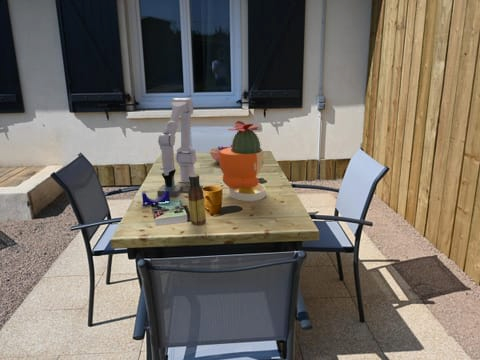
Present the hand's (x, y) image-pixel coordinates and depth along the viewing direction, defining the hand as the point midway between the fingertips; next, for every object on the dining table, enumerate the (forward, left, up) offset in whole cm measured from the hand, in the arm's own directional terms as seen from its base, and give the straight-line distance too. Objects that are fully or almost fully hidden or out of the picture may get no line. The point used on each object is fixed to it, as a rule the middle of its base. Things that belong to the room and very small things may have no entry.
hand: (170, 185), depth 202 cm
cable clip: (+15, -3, -4) cm, 16 cm away
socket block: (0, 0, -4) cm, 4 cm away
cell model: (-61, +20, -4) cm, 64 cm away
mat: (-5, +10, -4) cm, 12 cm away
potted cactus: (+2, +36, -4) cm, 36 cm away
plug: (0, 0, -3) cm, 3 cm away
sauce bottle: (+38, +21, -4) cm, 44 cm away
